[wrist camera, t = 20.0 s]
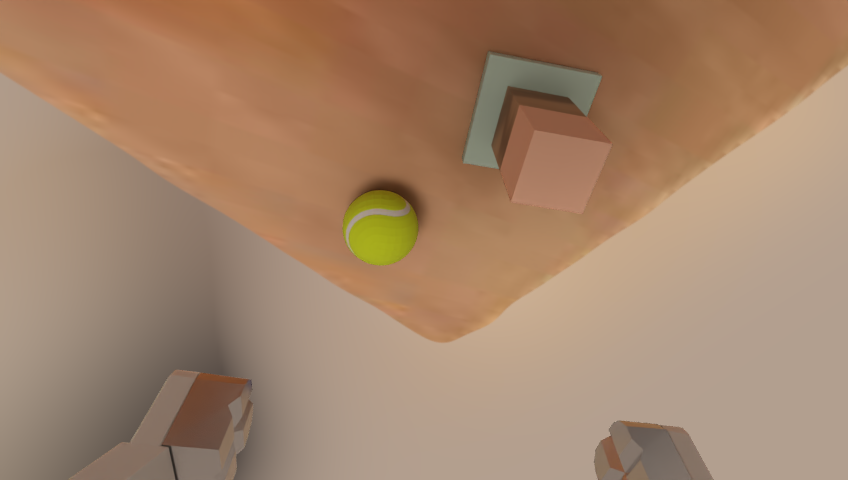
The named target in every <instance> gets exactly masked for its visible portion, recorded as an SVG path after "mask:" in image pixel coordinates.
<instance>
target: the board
mask: <svg viewBox="0 0 848 480" xmlns="http://www.w3.org/2000/svg"><path fill="white" fill-rule="evenodd" d="M601 78H602V76H601V75H600V74H599V73H597V72H592V71H587V70H582V69H577V68H572V67H567V66H562V65H557V64H552V63H546V62H541V61H536V60H531V59H526V58H521V57H516V56H511V55H506V54H501V53H495V52H490V51H488V54H487V58H486V62H485V66H484V70H483V74H482V78H481V82H480V86H479V90H478V94H477V98H476V103H475V107H474V111H473V115H472V119H471V123H470V127H469V131H468V135H467V139H466V143H465V147H464V152H463V156H462V160H463V163H466V164H472V165H478V166H484V167H490V168H496V169H499V167H498V164H497V161H496V158H495V155H494V152H493V149H492V146H491V144H492V141H493V137H494V133H495V130H496V126H497V123H498V119H499V116H500V112H501V108H502V105H503V101H504V98H505V94H506V90H507V87H508V86H511V87H516V88H522V89H527V90H532V91H537V92H543V93H548V94H553V95H559V96H564V97H568V98H569V99H570V100H571V101H572V102H573V103H574V104H575V105H576V106H577V107H578V108H579V109H580V110H581V111H582V112H583V114H584V115H585V116H586V117H587V115H588V112H589V109H590V107H591V104H592V102H593V99H594V97H595V94H596V91H597V89H598V86H599V84H600V81H601Z"/></svg>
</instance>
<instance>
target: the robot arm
mask: <svg viewBox="0 0 848 480" xmlns="http://www.w3.org/2000/svg"><path fill="white" fill-rule="evenodd" d="M251 392H252V381H251V380H250V379H243V378H236V377H229V376H220V375H214V374H206V373H200V372H191V371H183V370H175V371H174V372H173V373H172V374H171V375H170V376H169V377H168V378H167V380H166V382H165V384H164V385H163V387H162V389H161V390H160V392H159V394H158V396H157V397H156V399H155V401H154V402H153V404H152V406H151V408H150V409H149V411H148V413H147V414H146V416H145V418H144V419H143V421H142V423H141V425H140V426H139V428H138V430H137V431H136V433H135V435H134V436H133V438H132V440H131V442H130V443H123V442H121V443H120V444H119V445H117V446H116V447H114V448H113V449H111V450H110V451H109V452H107V453H106V454H104V455H103V456H101V457H100V458H98V459H97V460H96V461H94V462H93V463H91V464H90V465H88V466H87V467H86V468H84V469H83V470H81V471H80V472H78V473H77V474H75V475H74V476H72V477H71V478H70V479H68V480H233V478H234V475H235V473H236V469H237V465H236V455H237V454H238V453H239V452H240V451H241V450H242V449H244V446H245V444H246V441H247V438H248V435H249V431H250V427H251V422H252V415H253V403H252V402H251V401H250V400H249V397H250V395H251ZM609 432H610V434H611V436H609V437H607V438H605V439H603V440H602V441H601V442H600V443H599V445H598V446H597V448H596V450H595V459H594V463H595V471H596V474H597V478H598V480H713V478H712V476H711V474H710V473H709V471H708V469H707V467H706V465H705V463H704V462H703V460H702V458H701V456H700V454H699V452H698V451H697V449H696V447H695V445H694V443H693V441H692V440H691V438H690V436H689V434H688V433H687V432H686V431H685V430H684V429H683V428H680V427H673V426H662V425H658V424H650V423H639V422H629V421H617V422H614V423H613V424H612V425H611V427H610V428H609Z"/></svg>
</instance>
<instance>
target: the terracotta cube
mask: <svg viewBox="0 0 848 480" xmlns="http://www.w3.org/2000/svg"><path fill="white" fill-rule="evenodd" d="M612 145H613V144H612V143H611V142H610V140H609V139H608V138H607V137H606V136H605V135H604V134H603V133H602V132H601V131H600V130H599V129H598V128H597V127H596V126H595V124H594V123H593V122H592V121H591V120H590V119H589V118H588V117H583V116H577V115H572V114H567V113H561V112H556V111H550V110H545V109H540V108H534V107H529V106H523V105H519V108H518V111H517V115H516V118H515V121H514V125H513V128H512V131H511V135H510V138H509V141H508V145H507V148H506V151H505V155H504V158H503V161H502V165H501V168H500V172H501V175H502V178H503V181H504V184H505V187H506V190H507V192H508V195H509V198H510V201H511V202H512V203H518V204H525V205H531V206H537V207H543V208H549V209H556V210H562V211H568V212H574V213H580V214H583V212H584V210H585V207H586V205H587V203H588V200H589V198H590V196H591V194H592V191H593V189H594V187H595V184H596V182H597V180H598V177H599V175H600V173H601V171H602V168H603V166H604V164H605V161H606V159H607V157H608V154H609V152H610V150H611V148H612Z"/></svg>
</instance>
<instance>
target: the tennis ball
mask: <svg viewBox="0 0 848 480" xmlns="http://www.w3.org/2000/svg"><path fill="white" fill-rule="evenodd" d="M417 235H418V220H417V217H416V214H415V212H414V210H413V208H412V206H411V205H410V204H409V203H408V202H407V201H406V200H405V199H404V198H402V197H401V196H400V195H398V194H396V193H393V192H390V191H385V190H375V191H370V192H367V193H365V194H363V195H361V196H359V197H358V198H357V199H355V200H354V201H353V202H352V203H351V205H350V206H349V208H348V209H347V211H346V213H345V216H344V219H343V236H344V239H345V242H346V244H347V246H348V248H349V249H350V251H351V252H352V253H353V254H354V255H355V256H356V257H358V258H359V259H361V260H362V261H364V262H366V263H369V264H373V265H389V264H393V263H395V262H397V261H399V260H401V259H402V258H404V257H405V256H406V255H407V254H408V253H409V252H410V251H411V249H412V248H413V246H414V244H415V242H416V239H417Z"/></svg>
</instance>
